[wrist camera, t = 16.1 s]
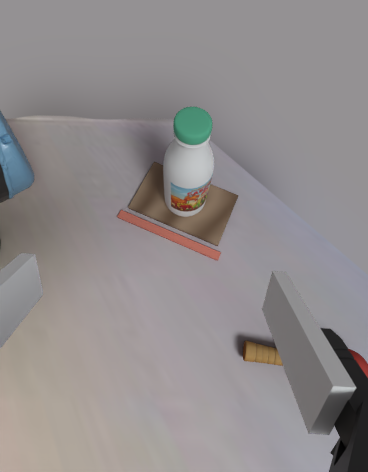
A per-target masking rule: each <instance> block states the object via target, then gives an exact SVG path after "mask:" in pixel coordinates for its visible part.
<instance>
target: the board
mask: <svg viewBox="0 0 368 472" xmlns="http://www.w3.org/2000/svg"><path fill="white" fill-rule="evenodd" d="M237 198H238V195H236V194H233V193H231V192H228V191H226V190H223V189H221V188H218V187H216V186H213V185H211V184H210V187H209V191H208V194H207V198H206V201H205V204H204V207H203V208H202V210H201V211H200V212H198V213H197V214H195V215H193V216H188V217H183V216H179V215H176V214H174V213H173V212H171V211H170V210H169V208H168V207H167V205H166V203H165V196H164V177H163V165H161V164H159V163H156V162H154V163H153V165H152V166H151V168H150V170H149V172H148V173H147V175H146V177H145V179H144V180H143V182H142V184H141V186H140V187H139V189H138V191H137V193H136V194H135V196H134V198H133V200H132V201H131V203H130V205H129V207H128V208H129V209H131V210H134V211H136V212H138V213H141V214H143V215H145V216H148V217H150V218H152V219H155V220H157V221H159V222H162V223H164V224H166V225H169V226H171V227H173V228H176V229H178V230H181V231H183V232H185V233H188V234H190V235H192V236H195V237H197V238H199V239H202V240H204V241H206V242H209V243H211V244H213V245H216V246H218V244H219V241H220V239H221V237H222V234H223V232H224V229H225V227H226V224H227V222H228V220H229V217H230V215H231V212H232V210H233V207H234V205H235V203H236V200H237Z"/></svg>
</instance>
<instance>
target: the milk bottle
mask: <svg viewBox="0 0 368 472" xmlns="http://www.w3.org/2000/svg"><path fill="white" fill-rule="evenodd" d="M211 131H212V119H211V117H210V115H209V114H208V113H207V112H206V111H205V110H203V109H201V108H198V107H186V108H184V109H182V110H180V111H179V112H178V113H177V114H176V116H175V118H174V137H175V138H174V140H173V141H172V142H171V144H170V145H169V147H168V148H167V150H166V153H165V156H164V162H163V177H164V196H165V203H166V205H167V207H168V208H169V210H170V211H171V212H173V213H174V214H176V215H179V216H183V217H188V216H193V215H195V214H197V213H198V212H200V211H201V210H202V208H203V207H204V204H205V201H206V198H207V194H208V191H209V187H210V183H211V179H212V175H213V170H214V156H213V152H212V149H211V147H210V145H209V143H208V141H209V139H210V135H211Z"/></svg>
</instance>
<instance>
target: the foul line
mask: <svg viewBox="0 0 368 472" xmlns="http://www.w3.org/2000/svg"><path fill="white" fill-rule="evenodd" d="M117 217H118V218H120V219H122V220H125V221H127V222H129V223H132V224H134V225H136V226H138V227H141V228H143V229H145V230H148V231H150V232H152V233H155V234H157V235H159V236H162V237H164V238H166V239H169V240H171V241H173V242H175V243H178V244H180V245H182V246H185V247H187V248H189V249H192V250H194V251H196V252H199V253H201V254H203V255H206V256H208V257H210V258H212V259H215V260H217V261H218V259H219V256H220V254H221V253H220V252H218V251H216V250H213V249H211V248H209V247H206V246H204V245H202V244H199V243H197V242H195V241H192V240H190V239H188V238H185V237H183V236H181V235H178V234H176V233H174V232H171V231H169V230H167V229H164V228H162V227H160V226H157V225H155V224H153V223H150V222H148V221H146V220H143V219H141V218H139V217H136V216H134V215H132V214H130V213H127V212H125V211H123V210H121V211H120V213H119V215H118V216H117Z"/></svg>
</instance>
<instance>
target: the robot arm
mask: <svg viewBox="0 0 368 472" xmlns="http://www.w3.org/2000/svg"><path fill="white" fill-rule="evenodd" d="M33 182H34V173H33V170H32V168H31V166H30V164H29V162H28V160H27V158H26V156H25V154H24V152H23V150H22V148H21V146H20V144H19V143H18V141H17V139H16V137H15V135H14V133H13V132H12V130H11V128H10V126H9V125H8V123H7V121H6V119H5V118H4V116H3V114H2V113H1V111H0V203H1V202H3V201H5V200H7V199H11V198H13V196H14V195H16V194H18V193H20V192H21V191H23V190H25V189H27V188H29V187H30V186H31V185H32V183H33ZM42 295H43V290H42V285H41V280H40V275H39V271H38V266H37V261H36V256H35V254H28V253H20V254H19V255H18V256H17V257H16V258H14V259H13V260H12V261H11V262H10V263H9V264H7V265H6V266H5V267H4V268H3V269H1V270H0V348H1V347H2V346H3V344H4V343H5V342H6V341H7V339H8V338H9V337H10V336H11V334H12V333H13V332H14V331H15V329H16V328H17V327H18V326H19V324H20V323H21V322H22V320H23V319H24V318H25V317H26V315H27V314H28V313H29V312H30V310H31V309H32V308H33V307H34V305H35V304H36V303H37V302H38V300H39V299H40V298H41V297H42ZM262 310H263V313H264V316H265V318H266V321H267V324H268V326H269V329H270V332H271V334H272V337H273V340H274V342H275V345H276V348H277V350H278V353H279V356H280V358H281V361H282V364H283V366H284V369H285V372H286V374H287V377H288V380H289V382H290V385H291V388H292V390H293V393H294V396H295V398H296V401H297V404H298V406H299V409H300V412H301V414H302V417H303V420H304V422H305V425H306V428H307V430H308V433H309V434H323V435H329V434H330V432H331V431H332V429H333V427H334V425H335V427H336V430H337V432H338V434H339V436H340V438H339V440H338V441H337V443H336V445H335V446H334V448H333V450H332V451H331V454H332V455H333V459H332V463H331V466H330V470H329V472H368V378H367V376H366V375H365V373H364V372H363V370H362V369H361V367H360V366H359V364H358V363H357V361H356V360H354V357H353V355H352V354H351V352H350V351H348V348H347V346H346V345H345V343H344V342H343V340H342V339H341V338H340V337H339V336H338V335H337V334H336V333H334V332H333V331H332V330H331V329H323V328H320V327H319V325H318V324H317V322H316V320H315V319H314V317H313V315H312V314H311V312H310V311H309V309H308V307H307V306H306V304H305V302H304V301H303V299H302V297H301V296H300V294H299V293H298V291H297V289H296V288H295V286H294V284H293V283H292V281H291V279H290V278H289V276H288V275H287V273H286V272H278V271H272V275H271V278H270V282H269V286H268V289H267V293H266V297H265V300H264V304H263V308H262Z"/></svg>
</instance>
